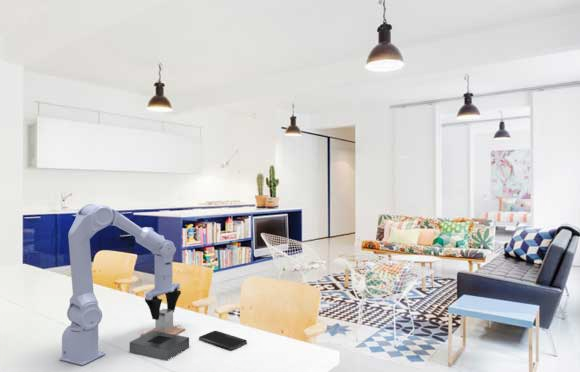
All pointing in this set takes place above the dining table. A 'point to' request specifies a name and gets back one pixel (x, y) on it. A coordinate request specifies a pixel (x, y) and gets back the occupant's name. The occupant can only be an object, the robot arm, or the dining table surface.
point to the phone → (223, 340)
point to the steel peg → (164, 321)
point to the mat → (174, 332)
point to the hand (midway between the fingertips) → (163, 315)
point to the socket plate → (159, 345)
